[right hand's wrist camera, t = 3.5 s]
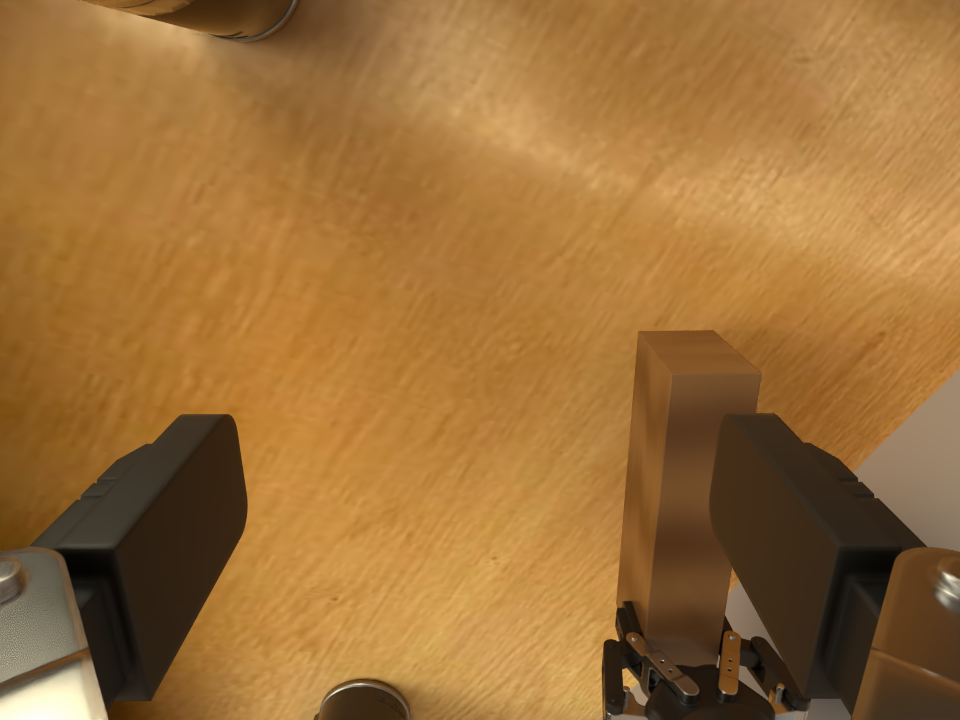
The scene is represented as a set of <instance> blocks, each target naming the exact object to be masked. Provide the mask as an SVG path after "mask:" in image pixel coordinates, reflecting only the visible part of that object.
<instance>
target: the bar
mask: <svg viewBox="0 0 960 720" xmlns="http://www.w3.org/2000/svg"><path fill="white" fill-rule="evenodd" d="M761 374H762V373H761V372H760V371H759V370H758V369H757V368H755V367H754V366H753V365H752V364H751V363H750V362H749V361H748V360H746V359H745V358H744V357H743V356H742V355H741V354H740V353H738V352H737V351H736V350H735V349H734V348H733V347H732V346H731V345H729V344H728V343H727V342H726V341H725V340H724V339H723V338H721V337H720V336H719V335H718V334H717V333H716V332H715V331H713V330H710V331H639V332H638V341H637V354H636V366H635V378H634V391H633V403H632V416H631V428H630V440H629V453H628V465H627V477H626V490H625V502H624V514H623V527H622V539H621V551H620V564H619V576H618V588H617V601H616V604H617V607H618V608H622V601H632V603H633V606H634V609H635V612H636V615H637V618H638V621H639V624H640V627H641V630H642V637H643V638H644V639H645V640H646V641H647V642H648V644H649V645H650V646H651V647H652V648H653V649H654V650H655V651H656V650H658V649H659V650H661V651H662V652H663V653H664V654H665V655H666V656H667V657H668V658H669V659H670V661H671V662H672V663H673V664H674V665H686V666H691V667H696V666H700V665H704V664H715V665H716V667H717V661H718V655H719V648H720V642H721V635H722V629H723V622H724V616H725V609H726V602H727V596H728V590H729V583H730V577H731V570H732V565H731V564H730V562H729V560H728V558H727V556H726V554H725V553H724V551H723V549H722V547H721V545H720V543H719V542H718V540H717V538H716V536H715V534H714V531H713V529H712V525H711V520H710V514H709V495H710V488H711V481H712V474H713V467H714V461H715V454H716V447H717V440H718V433H719V427H720V423H721V421H722V418H723V417H724V416H725V415H726V414H728V413H756V407H757V400H758V394H759V387H760V381H761Z"/></svg>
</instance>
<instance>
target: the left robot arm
mask: <svg viewBox="0 0 960 720" xmlns="http://www.w3.org/2000/svg"><path fill="white" fill-rule="evenodd" d="M615 627H616V631H617V634H618V638H619V641H618V642H617V641H616V640H613V639H609V640H606V641H605V642H604V647H603V660H602V699H603V720H807V716H808V712H809V706H810V701H811V699H804V698H803V696H802V694H801V692H800V690H799V689H798V687H797V685H796V683H795V681H794V679H793V678H792V676H791V674H790V672H789V670H788V668H787V666H786V665H785V663H784V662H783V661H782V659H781V658H780V657H779V656H778V654H777V653H776V652H775V651H774V649H773V648H772V647H771V646H770V644H769V643H768V642H767V641H766V640H765V639H764V638H762V637H758V636H755V637H753V638H751V641H750V640H746V639H742V638H741V637H740V635H739V634H738V633H736V632H734V631H733V630H732V628H731V626H730V624H729V622H728V620H727V618H726V616H724V622H723V629H722V635H721V642H720V648H719V655H720V661H719V668H717V667H716V665H715V664H704V665H700V666H696V667H691V666H686V665H674V664H673V663H672V662H671V661H670V659H669V658H668V657H667V656H666V655H665V654H664V653H663V652H662V651H661V650H659V649H658V650H656V651H655V650H654V649H653V648H652V647H651V646H650V645H649V644H648V642H647V641H646V640H645V639H644V638H643V637H642V630H641V627H640V624H639V621H638V618H637V615H636V612H635V609H634V606H633V603H632V601H622V608H617V612H616V623H615ZM739 665H741V666H745V667H747V669H748V670H749V672H750V673H751V675H752V676H753V677H754V679H755V680H756V681H757V683H758V684H759V686H760V687H761V688H762V690H763V691H764V692H765V694H766V695H767V697H768V701H767V700H766V699H765V698H763V697H762V696H761V695H759V694H758V693H756V692H755V691H754V690H752V689H751V688H749V687H748V686H747V685H745V684H744V683H742V682H741V681H740V680H738V677H739ZM625 668H627V669H628V670H629V671H630V672H631V673H632V674H633V676H634V677H635V678H636V679H637V680H638V681H639V683H640V687H641V690H642V692H643V693H644V694H645V696H646V697H647V698H648V701H647V703H646V705H645V706H642V705H640V704H638V703H637V702H636V700H635V698H634V695H633V694H632V693H631V692H630V688H629V687H627V686H624V687H623V678H622V669H625ZM314 720H410V709H409V706H408V704H407V702H406V700H405V699H404V697H403V696H402V695H401V694H400V693H399V692H398V691H397V690H395V689H394V688H392V687H390V686H389V685H386V684H384V683H381V682H377V681H373V680H353V681H348V682H345V683H342V684H340V685H338V686H336V687H334V688H333V689H332V690H330V691H329V692H328V693H327V695H326V696H325V697H324V699H323V701H322V704H321V708H320V712H319V713H318V714H316V715H315V717H314Z"/></svg>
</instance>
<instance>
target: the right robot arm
mask: <svg viewBox="0 0 960 720" xmlns="http://www.w3.org/2000/svg"><path fill="white" fill-rule="evenodd" d="M79 1H83V2H87V3H91V4H95V5H100V6H104V7H108V8H111V9H115V10H119V11H123V12H127V13H131V14H135V15H139V16H142V17H146V18H150V19H154V20H158V21H161V22H165V23H169V24H173V25H177V26H181V27H184V28H188V29H192V30H196V31H200V32H204V33H208V34H210V35H213V36H215V37H214V38H216V37H218V38H219V39H224V40H229V41H235V42H240V43H241V42H252V41H257V40H261V39H264V38H266V37H268V36H270V35H272V34H274V33H275V32H277V31H278V30H279V29H281V28H282V27H283V26H284V25H285V24H286V23H287V21H288V20H289V19H290V18H291V16H292V15H293V13H294V11H295V9H296V7H297V5H298V3H299V0H79ZM194 34H195V33H194ZM199 35H200V34H199ZM204 36H205V35H204ZM209 37H211V36H209ZM245 44H246V43H245ZM247 506H248V504H247V493H246V486H245V479H244V473H243V466H242V459H241V452H240V446H239V439H238V432H237V427H236V423H235V421H234V419H233V417H232V416H231V415H229V414H182V415H180V416H179V417H178V418H177V419H176V420H175V421H174V422H173V423H172V424H171V425H170V426H169V427H168V428H167V429H166V430H165V431H164V432H163V433H162V434H161V435H160V436H159V437H158V438H157V439H156V440H155V441H154V442H153V443H152V444H145V445H144V446H142V447H140V448H138V449H136V450H134V451H133V452H131V453H129V454H127V455H125V456H124V457H122V458H120V459H118V460H117V461H116V462H115V463H113V464H112V465H111V466H110V467H109V468H108V469H107V470H106V471H105V472H104V473H103V474H102V475H101V476H100V477H99V478H98V479H97V483H93V484H92V485H91V486H90V487H89V488H88V489H87V490H86V491H85V492H84V493H83V494H82V495H81V499H80V500H76V501H75V502H74V503H73V504H72V505H71V506H70V507H69V508H68V509H67V510H66V511H65V512H64V513H63V514H62V515H61V516H60V517H59V518H58V519H56V520H55V521H54V522H53V523H52V524H51V525H50V526H49V527H48V528H47V529H46V530H45V531H44V532H43V533H42V534H41V535H40V536H39V537H38V538H37V539H36V540H35V541H34V542H33V543H32V544H31V545H30V546H29V547H25V548H17V549H11V550H6V551H2V552H0V720H109V717H108V714H107V711H108V710H109V708H110V706H111V705H112V703H113V701H151V700H152V698H153V696H154V694H155V692H156V690H157V689H158V687H159V685H160V683H161V681H162V680H163V678H164V676H165V674H166V672H167V671H168V669H169V667H170V665H171V663H172V661H173V660H174V658H175V656H176V654H177V652H178V651H179V649H180V647H181V645H182V643H183V642H184V640H185V638H186V636H187V634H188V632H189V631H190V629H191V627H192V625H193V623H194V622H195V620H196V618H197V616H198V614H199V612H200V611H201V609H202V607H203V605H204V603H205V602H206V600H207V598H208V596H209V594H210V593H211V591H212V589H213V587H214V585H215V583H216V582H217V580H218V578H219V576H220V574H221V573H222V571H223V569H224V567H225V565H226V563H227V562H228V560H229V558H230V556H231V554H232V553H233V551H234V549H235V547H236V545H237V544H238V542H239V540H240V538H241V536H242V534H243V531H244V528H245V524H246V518H247ZM709 514H710V520H711V525H712V529H713V531H714V534H715V536H716V538H717V540H718V542H719V543H720V545H721V547H722V549H723V551H724V553H725V554H726V556H727V558H728V560H729V562H730V564H731V565H732V567H733V569H734V571H735V573H736V575H737V576H738V578H739V580H740V582H741V584H742V586H743V588H744V589H745V591H746V593H747V595H748V597H749V599H750V600H751V602H752V604H753V606H754V608H755V610H756V611H757V613H758V615H759V617H760V619H761V621H762V622H763V624H764V626H765V628H766V630H767V632H768V633H769V635H770V637H771V639H772V641H773V643H774V644H775V646H776V648H777V650H778V652H779V654H780V655H781V657H782V659H783V661H784V663H785V665H786V666H787V668H788V670H789V672H790V674H791V676H792V678H793V679H794V681H795V683H796V685H797V687H798V689H799V690H800V692H801V694H802V696H803V698H804V699H841V700H842V702H843V704H844V705H845V707H846V708H847V710H848V712H849V713H850V715H851V720H960V552H958V551H954V550H949V549H943V548H935V547H927V546H926V545H925V544H924V543H923V542H922V541H921V540H920V539H919V538H918V537H917V536H916V535H915V534H914V533H913V532H912V531H911V530H910V529H909V528H908V527H907V526H906V525H905V524H904V523H903V522H902V521H901V520H900V519H899V518H898V517H897V516H896V515H895V514H894V513H893V512H892V511H891V510H890V509H889V508H888V507H887V506H886V505H885V504H884V503H883V502H882V501H880V499H878V498H874V494H873V493H872V492H871V491H870V490H869V489H868V488H867V487H866V486H865V485H864V484H863V483H862V482H858V478H857V477H856V476H855V475H854V474H853V473H852V472H851V471H850V470H849V469H848V468H847V467H846V466H845V465H844V464H843V463H842V462H841V461H840V460H839V459H838V458H836V457H834V456H832V455H831V454H829V453H827V452H825V451H823V450H821V449H820V448H818V447H816V446H814V445H812V444H811V443H803V442H802V441H801V440H800V439H799V438H798V437H797V435H796V434H795V433H794V432H793V431H792V430H791V429H790V428H789V427H788V426H787V425H786V424H785V423H784V422H783V421H782V420H781V419H780V418H779V417H778V416H777V415H776V414H774V413H728V414H726V415H725V416H724V417H723V418H722V421H721V423H720V427H719V433H718V440H717V447H716V454H715V461H714V467H713V474H712V481H711V488H710V495H709Z"/></svg>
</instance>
